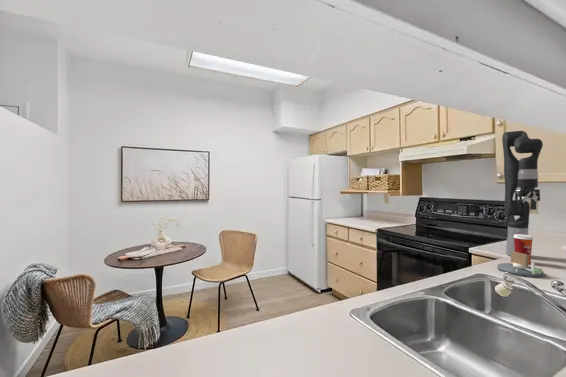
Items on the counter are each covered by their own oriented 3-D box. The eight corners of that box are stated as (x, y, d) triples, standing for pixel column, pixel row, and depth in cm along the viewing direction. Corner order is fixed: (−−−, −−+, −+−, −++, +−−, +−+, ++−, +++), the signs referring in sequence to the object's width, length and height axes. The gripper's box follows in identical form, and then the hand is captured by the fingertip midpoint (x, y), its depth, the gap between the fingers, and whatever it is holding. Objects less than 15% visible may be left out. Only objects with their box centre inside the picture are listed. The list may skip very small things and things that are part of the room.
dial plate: (501, 264, 143) (501, 257, 143) (545, 271, 131) (545, 264, 130) (493, 271, 132) (493, 264, 132) (541, 280, 120) (541, 272, 119)
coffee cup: (528, 265, 140) (529, 237, 140) (509, 261, 148) (510, 234, 147) (536, 263, 144) (536, 235, 144) (517, 259, 151) (517, 233, 151)
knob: (508, 265, 135) (508, 251, 134) (516, 265, 135) (516, 251, 135) (529, 272, 125) (529, 257, 124) (538, 271, 125) (538, 256, 125)
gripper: (526, 178, 131) (525, 211, 131) (546, 178, 134) (545, 210, 135) (509, 178, 138) (509, 209, 138) (529, 178, 142) (528, 208, 142)
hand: (527, 209), depth 137 cm, fingers open, 8 cm apart
